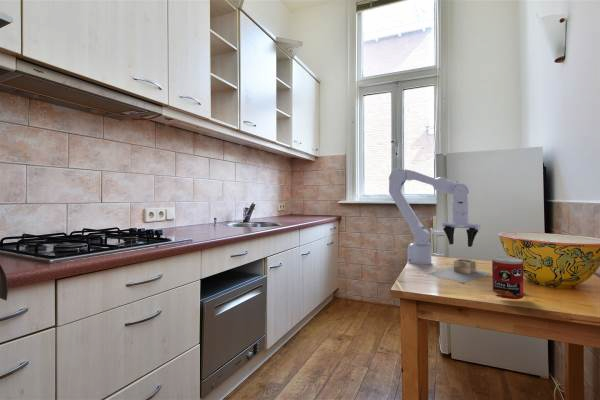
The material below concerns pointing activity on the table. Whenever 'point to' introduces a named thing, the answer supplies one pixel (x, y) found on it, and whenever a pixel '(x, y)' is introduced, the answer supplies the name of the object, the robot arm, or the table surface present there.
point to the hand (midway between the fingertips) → (460, 245)
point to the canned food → (507, 277)
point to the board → (457, 274)
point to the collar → (465, 266)
